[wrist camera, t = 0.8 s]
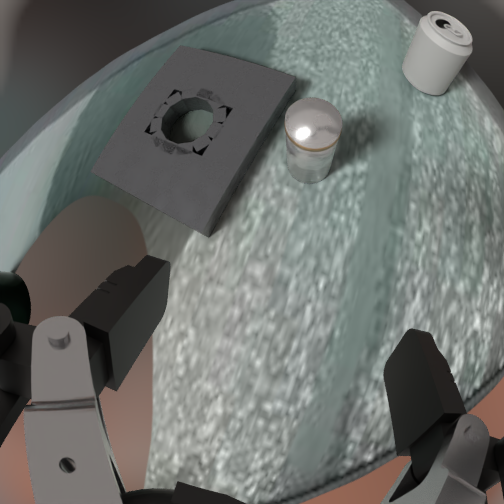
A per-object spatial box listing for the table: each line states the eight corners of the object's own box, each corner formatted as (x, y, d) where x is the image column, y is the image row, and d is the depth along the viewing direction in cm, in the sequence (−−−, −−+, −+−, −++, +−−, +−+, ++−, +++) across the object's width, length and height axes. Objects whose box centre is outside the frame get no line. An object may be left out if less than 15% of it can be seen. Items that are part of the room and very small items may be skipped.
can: (418, 54, 34) (441, 3, 22) (453, 87, 33) (485, 40, 21) (390, 70, 34) (411, 12, 22) (428, 106, 33) (462, 54, 21)
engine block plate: (186, 57, 38) (180, 45, 35) (295, 90, 35) (295, 77, 32) (102, 178, 37) (90, 171, 34) (208, 237, 34) (201, 233, 32)
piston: (298, 138, 35) (299, 89, 25) (337, 156, 34) (351, 111, 24) (279, 172, 34) (274, 130, 24) (319, 191, 33) (328, 155, 24)
